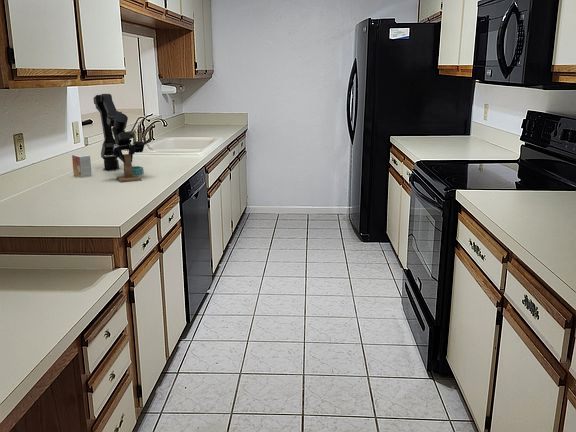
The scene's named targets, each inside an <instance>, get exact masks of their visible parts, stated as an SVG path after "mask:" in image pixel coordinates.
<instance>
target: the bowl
mask: <svg viewBox="0 0 576 432" xmlns="http://www.w3.org/2000/svg"><path fill="white" fill-rule="evenodd" d="M144 171H145V169H144V167H143V166H140V165H138V166H135V165H132V175H137V176H142V175H144Z"/></svg>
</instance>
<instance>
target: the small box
mask: <svg viewBox="0 0 576 432" xmlns="http://www.w3.org/2000/svg"><path fill="white" fill-rule="evenodd" d="M71 159H72V160H71V161H72V169H73V171H72V172H73V176H74V177H77V178H87V177H92V176H93V175H92V174H93V173H92V163H91V155H87V154H84V153H82V154H81V153H80V154H72V155H71Z"/></svg>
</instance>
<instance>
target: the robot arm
mask: <svg viewBox="0 0 576 432" xmlns="http://www.w3.org/2000/svg"><path fill="white" fill-rule="evenodd" d="M93 104H94V105H95V109H96V110H97V111H98V113H99V114H100V120H101V127H102V133H103V139H104V140H103V142H102V143H101V144H102V147H101V150H100V157H101V159H103V165H104V167H103V171H117V170H118V169H120V163H119V160H120V161H121V162H124V163H125V159H124V156H123V151H128V153H127V154H130V155H131V162H132V163H133V157H134V156H133V155H135V154H138V153H143V151H144V149H145V142H144V141H143V140H138V141H134V144H130V143H131V139H134V138H135V133H134V131H133V130H129V131H126V130H125V129H126V128H127V124H128V121H129V119H128V116H127V114H125V113H123V111H119V110H117V108H116V105H115V103H114V101H113V96H112V94H110V93H102V94H95V96H94V97H93ZM124 163H123V164H124Z"/></svg>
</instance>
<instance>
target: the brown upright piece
mask: <svg viewBox="0 0 576 432" xmlns="http://www.w3.org/2000/svg"><path fill="white" fill-rule="evenodd" d="M122 154H123V153H122ZM123 156H124V159H125V163H124V162H123V175H119V176H118V175H117V176H115V180H116V179H117V180H119V181H120V182H124V183H131V182H130V181H134V182H141V181H140V180H142V177H141V176H140V175H132V166H133V165H132V164H133V161H132V162H131V155H130V154H128V153H126V154H123ZM117 180H116V181H117ZM119 181H118V182H119ZM120 182H119V183H120Z"/></svg>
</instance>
